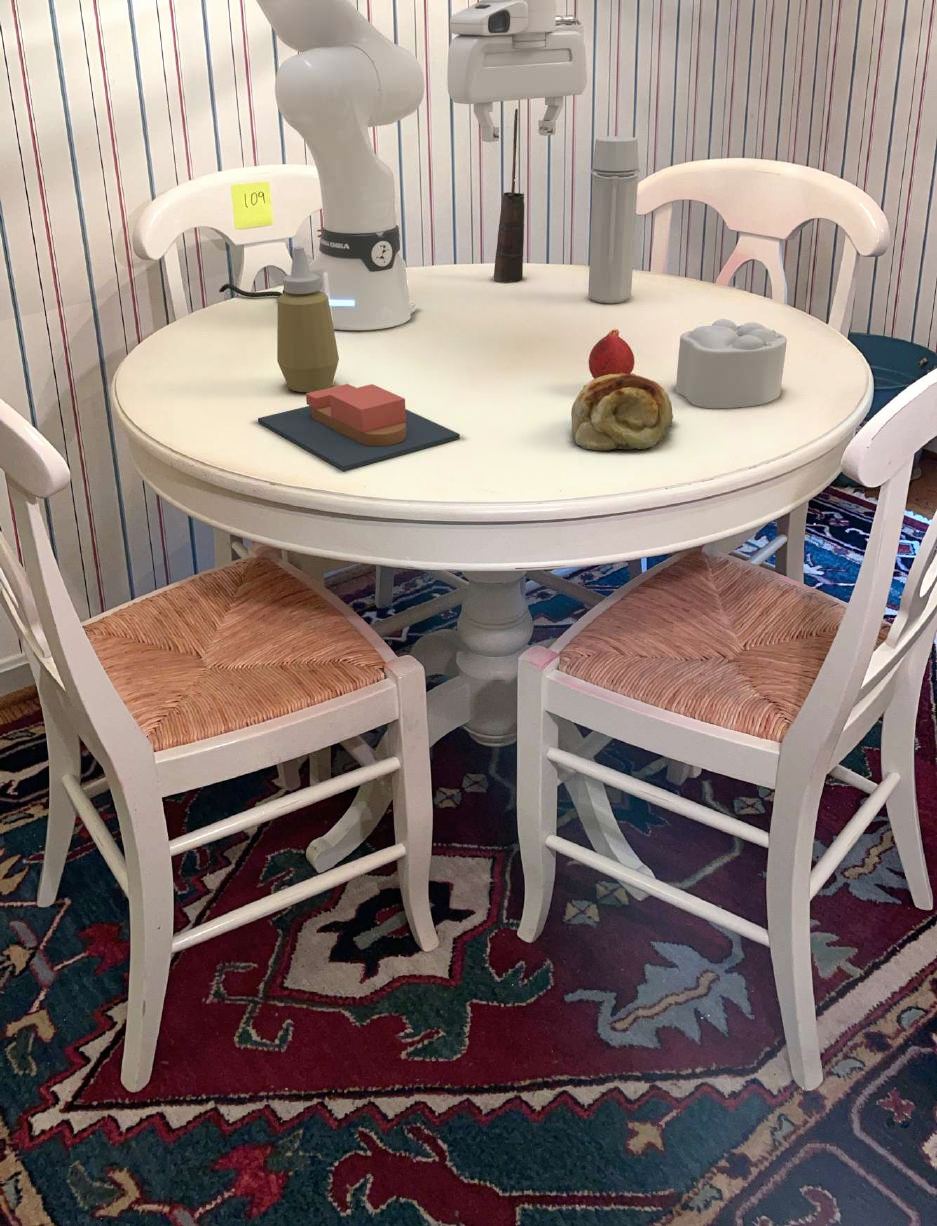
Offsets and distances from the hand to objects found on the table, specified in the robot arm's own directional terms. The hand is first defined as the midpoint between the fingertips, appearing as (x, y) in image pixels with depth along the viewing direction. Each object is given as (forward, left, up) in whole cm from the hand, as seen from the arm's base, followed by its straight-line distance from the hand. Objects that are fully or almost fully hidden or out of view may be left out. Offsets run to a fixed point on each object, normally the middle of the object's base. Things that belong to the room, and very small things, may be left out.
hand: (519, 138), depth 143 cm
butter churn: (-38, +29, -29) cm, 56 cm away
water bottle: (-16, +33, -29) cm, 47 cm away
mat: (+10, -33, -29) cm, 45 cm away
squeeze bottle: (-8, -29, -29) cm, 42 cm away
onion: (+18, +1, -29) cm, 34 cm away
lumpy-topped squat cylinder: (+29, +12, -29) cm, 43 cm away
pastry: (+31, -9, -29) cm, 44 cm away
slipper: (+10, -33, -28) cm, 45 cm away
